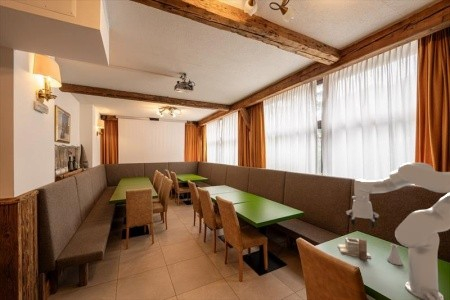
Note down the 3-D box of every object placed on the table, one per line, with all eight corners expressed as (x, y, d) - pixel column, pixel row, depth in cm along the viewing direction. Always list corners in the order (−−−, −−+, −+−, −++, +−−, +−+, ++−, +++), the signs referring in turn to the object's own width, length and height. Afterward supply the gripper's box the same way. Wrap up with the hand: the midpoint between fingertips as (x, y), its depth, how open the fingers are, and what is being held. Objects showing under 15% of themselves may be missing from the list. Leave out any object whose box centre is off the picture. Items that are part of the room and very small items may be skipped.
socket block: (370, 258, 120) (370, 246, 120) (341, 253, 125) (341, 242, 126) (364, 249, 131) (364, 238, 131) (337, 245, 137) (337, 235, 137)
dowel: (367, 261, 116) (367, 241, 117) (360, 260, 118) (359, 240, 118) (365, 258, 120) (365, 239, 120) (358, 257, 121) (357, 238, 122)
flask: (405, 266, 111) (405, 249, 112) (391, 264, 113) (391, 247, 113) (397, 259, 119) (397, 243, 119) (384, 258, 120) (383, 242, 120)
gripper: (347, 199, 120) (347, 226, 119) (380, 201, 114) (381, 230, 113) (344, 196, 127) (345, 222, 126) (376, 198, 121) (376, 226, 120)
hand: (362, 226), depth 120 cm, fingers open, 9 cm apart
